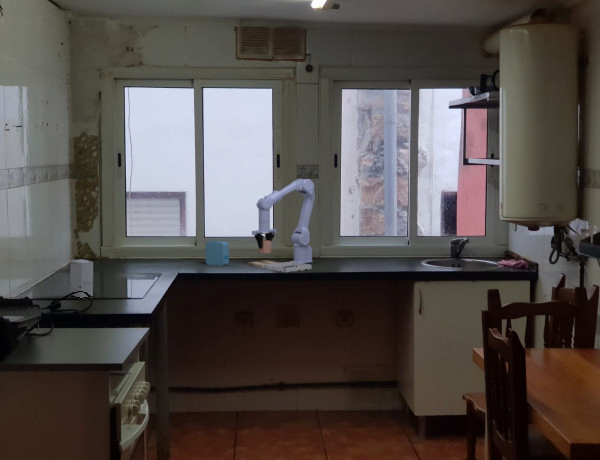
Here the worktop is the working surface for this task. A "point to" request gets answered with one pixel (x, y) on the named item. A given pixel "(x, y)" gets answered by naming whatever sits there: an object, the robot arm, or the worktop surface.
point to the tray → (279, 267)
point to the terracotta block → (265, 247)
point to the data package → (217, 253)
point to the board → (261, 263)
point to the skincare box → (81, 277)
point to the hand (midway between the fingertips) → (264, 248)
